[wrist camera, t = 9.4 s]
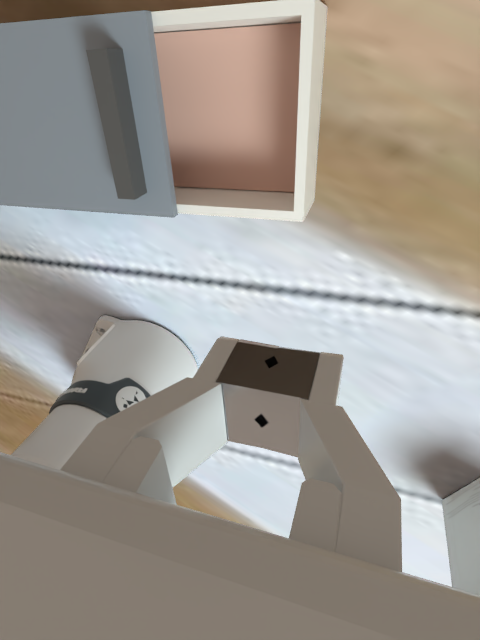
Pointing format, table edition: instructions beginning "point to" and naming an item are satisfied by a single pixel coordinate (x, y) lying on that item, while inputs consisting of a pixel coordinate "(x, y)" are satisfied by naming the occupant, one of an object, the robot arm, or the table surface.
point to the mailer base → (243, 106)
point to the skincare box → (464, 536)
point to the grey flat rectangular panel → (84, 116)
